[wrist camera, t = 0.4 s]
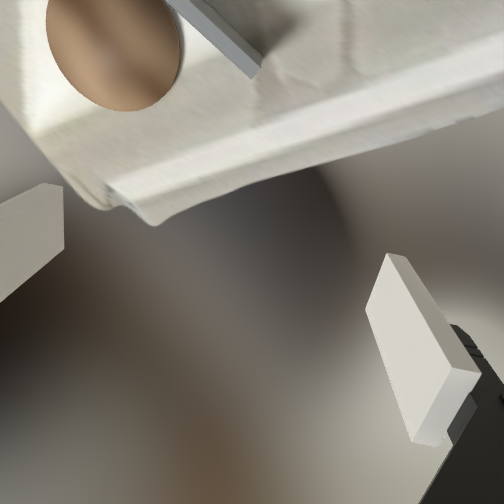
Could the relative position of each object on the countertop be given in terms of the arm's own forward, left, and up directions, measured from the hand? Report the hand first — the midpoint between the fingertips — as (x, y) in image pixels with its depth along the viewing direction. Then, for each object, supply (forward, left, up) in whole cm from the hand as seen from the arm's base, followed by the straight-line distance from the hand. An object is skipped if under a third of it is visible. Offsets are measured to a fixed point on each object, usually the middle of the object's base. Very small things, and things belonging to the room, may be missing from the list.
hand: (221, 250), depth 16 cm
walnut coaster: (+6, -12, -27) cm, 30 cm away
